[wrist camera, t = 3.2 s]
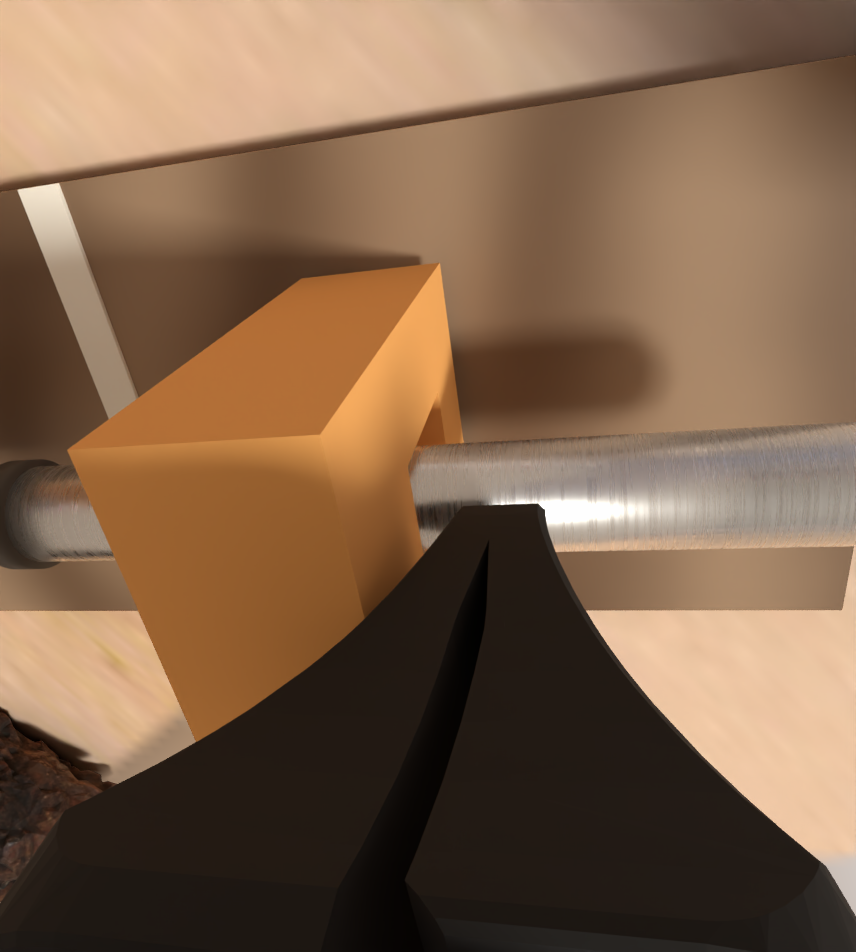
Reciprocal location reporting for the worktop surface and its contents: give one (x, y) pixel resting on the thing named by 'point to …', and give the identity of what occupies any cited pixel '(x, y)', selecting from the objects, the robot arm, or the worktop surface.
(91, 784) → the dark brown lumpy piece
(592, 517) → the rod stand
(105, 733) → the worktop surface
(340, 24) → the worktop surface
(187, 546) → the collar
